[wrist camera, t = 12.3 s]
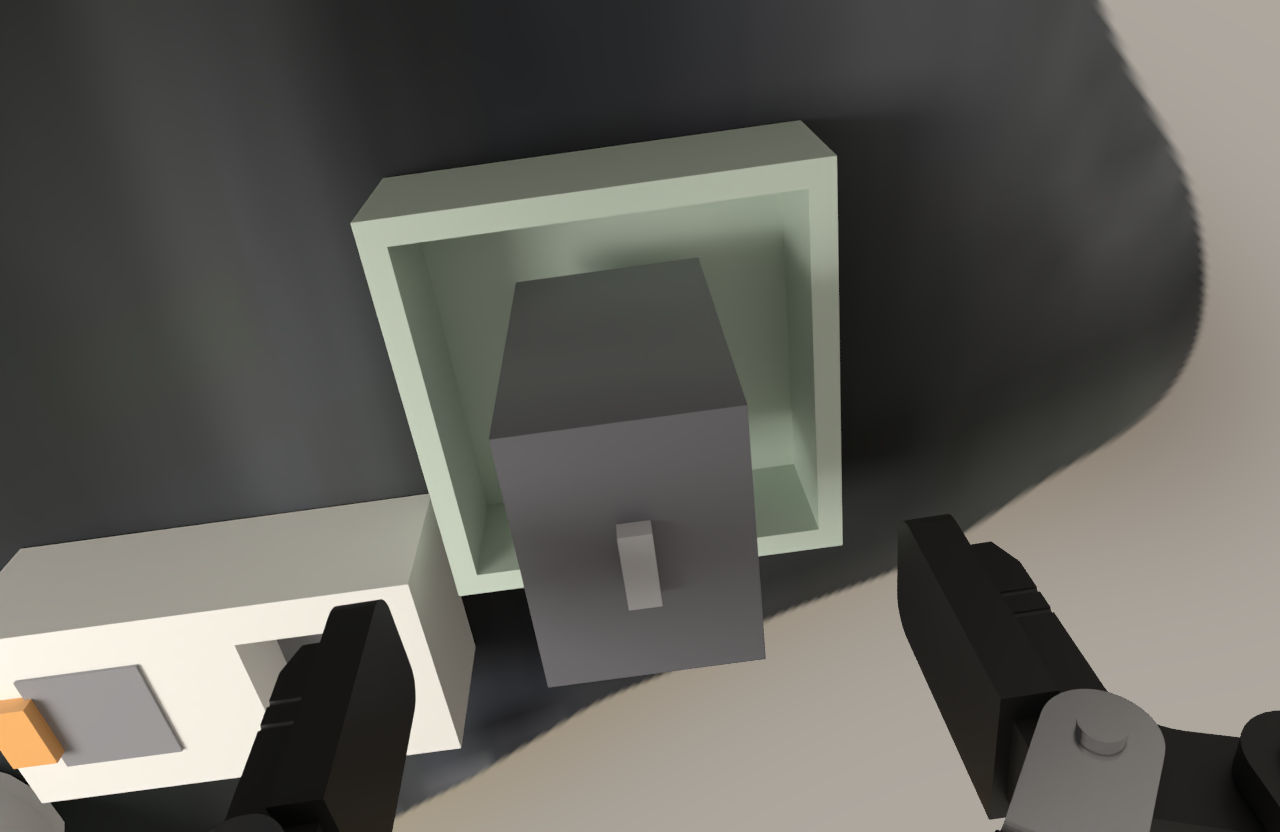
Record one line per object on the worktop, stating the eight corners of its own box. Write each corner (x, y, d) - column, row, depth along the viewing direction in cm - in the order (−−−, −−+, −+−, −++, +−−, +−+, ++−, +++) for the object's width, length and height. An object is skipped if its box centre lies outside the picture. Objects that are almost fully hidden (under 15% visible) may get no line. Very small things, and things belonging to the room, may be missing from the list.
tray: (383, 178, 21) (350, 223, 18) (800, 120, 21) (837, 155, 18) (473, 516, 26) (458, 596, 23) (812, 470, 26) (842, 545, 23)
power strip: (-184, 576, 26) (-319, 694, 22) (431, 493, 26) (404, 598, 22) (-77, 720, 29) (-180, 846, 25) (475, 646, 29) (458, 762, 25)
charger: (520, 255, 22) (486, 452, 14) (689, 232, 22) (751, 417, 14) (558, 448, 25) (547, 703, 17) (708, 427, 25) (769, 674, 17)
